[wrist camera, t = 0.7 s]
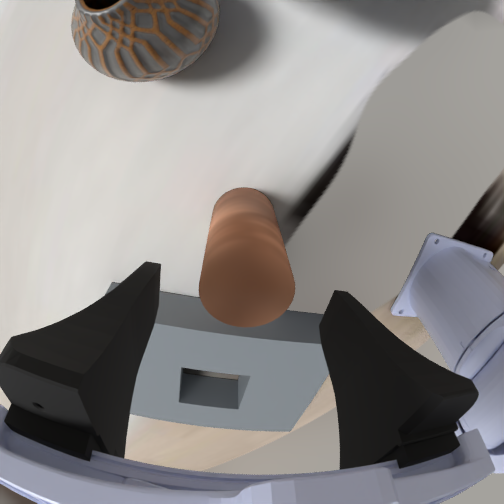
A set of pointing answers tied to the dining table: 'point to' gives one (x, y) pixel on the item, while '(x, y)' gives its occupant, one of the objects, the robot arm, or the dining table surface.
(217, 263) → the peg
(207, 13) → the vase
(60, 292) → the dining table surface
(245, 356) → the socket board
